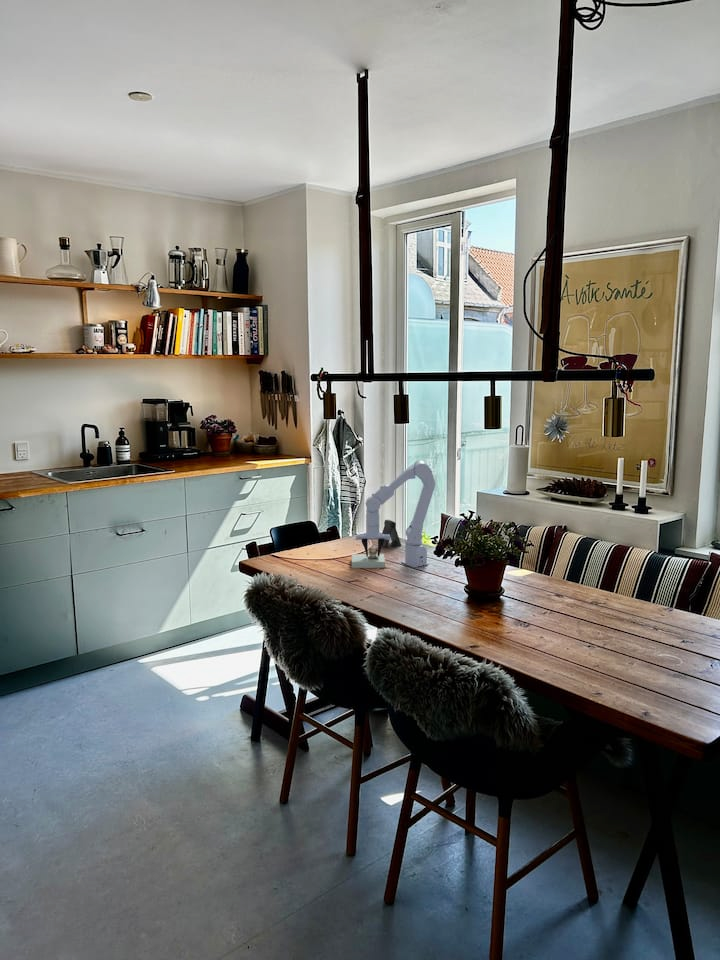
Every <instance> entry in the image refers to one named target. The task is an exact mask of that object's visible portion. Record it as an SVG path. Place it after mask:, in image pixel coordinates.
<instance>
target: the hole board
mask: <svg viewBox="0 0 720 960" xmlns="http://www.w3.org/2000/svg"><path fill="white" fill-rule="evenodd" d="M369 557H370V553H368V557H366V553H365V554H362V553H360V554H359V553H355V554H354V553H352V554H351V569H361V568H362V569H375V568H376V569H377V568H379V569H382V568H383V569H385V568H386V558H385V554H384V553H380V556H379V557H378V553H376V559H370V558H369Z"/></svg>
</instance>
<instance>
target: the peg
mask: <svg viewBox="0 0 720 960" xmlns="http://www.w3.org/2000/svg"><path fill="white" fill-rule="evenodd" d="M368 554H370V557H369V558H370V559H376V554H378V547H375V546H370V547H368Z"/></svg>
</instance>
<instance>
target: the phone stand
mask: <svg viewBox="0 0 720 960" xmlns="http://www.w3.org/2000/svg"><path fill="white" fill-rule="evenodd" d="M383 522H384V527H383V529H382V532H381V534H390V540H391V542H390V540H387V539H384V544H383V546H382V548H384V549H387V548H395V547H396V548H397V547H402V543H401V540H400V537H399V535H398V530H397V529H396V525H397V524H396V522H395V521H393V520H390V519H385V520H384V521H383Z"/></svg>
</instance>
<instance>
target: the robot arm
mask: <svg viewBox="0 0 720 960" xmlns="http://www.w3.org/2000/svg"><path fill="white" fill-rule="evenodd" d="M416 478H418V479H420V481H421V483H422V484H423V485H422V489H421V492H420V494H419V498H418V502H417V504H416V508H415V511H414V514H413V517H412V520H411V522H410V524H409V526H408V527H407V528H406V529H405V536H406V540H405V544H404V545H405V547H404V553H405V554H404V560H401V561H400V563H401V564H405V565H407V566H409V567H411V568H418V566H419V567H422V566H423V565H424V566H428V565H429V563H428V562H427V561H428V549H427V548H426V547H425V546H424V545H423V541H422V540H423V535H422V533H423V530H424V529H423V528H424V522H425V520H426V517H427V513H428V509H429V507H430V504H431V500H432V497H433V493H434V491H435V488H436V480H435V477H434V473H433V471H432V469H431V467H430V466H429V465H428V464H427V462H426V461H424V460H422V459H421V460H416V461H415V462H414V463H413V464H411V465H410V466H408V467H407V468H406V469H404V471H403V472H401V474H399V475H398V476H397V477H396V478H395V479H394V480H393V481H392V482H391V483H389V484H384V485H380V486H379V489H378V490H377V491H376V492H375V493H372V494H371V496H370V497H368V498H367V499H366V501H365V507H366V510H365V511H366V514H365V528H366V529H365V533H363V534H361V533H360V534H355V541H359V540H360V541H361V543H362V545H363V548H364V551H365V554H366V557H368V554H369V547H368V545H369V544H368V540H372V541H373V540H376V541H377V554H378V557H379V556H380V554H381V550H382V548H383V547H382V546H383V544H384V539H387V540H389V541H390V540H391V537H390V534H382V533H380V509H381V505H384V504H385V503H386V502H388V500H389V499H391V498H392V497H394V496H395V491H396V490H397V489H398V488H399V487H401V486H402V485H403V484H404V483H406V482H407V481H409V480H414V479H415V480H416Z"/></svg>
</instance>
